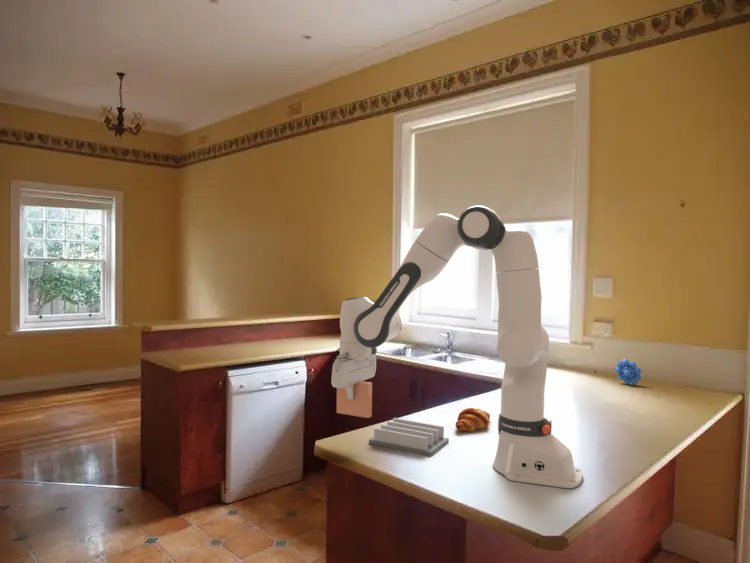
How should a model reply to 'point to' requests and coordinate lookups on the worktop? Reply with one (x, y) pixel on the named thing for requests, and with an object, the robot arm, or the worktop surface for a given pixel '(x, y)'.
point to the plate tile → (356, 400)
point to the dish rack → (410, 436)
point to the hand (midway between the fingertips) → (354, 397)
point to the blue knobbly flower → (628, 372)
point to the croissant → (472, 420)
